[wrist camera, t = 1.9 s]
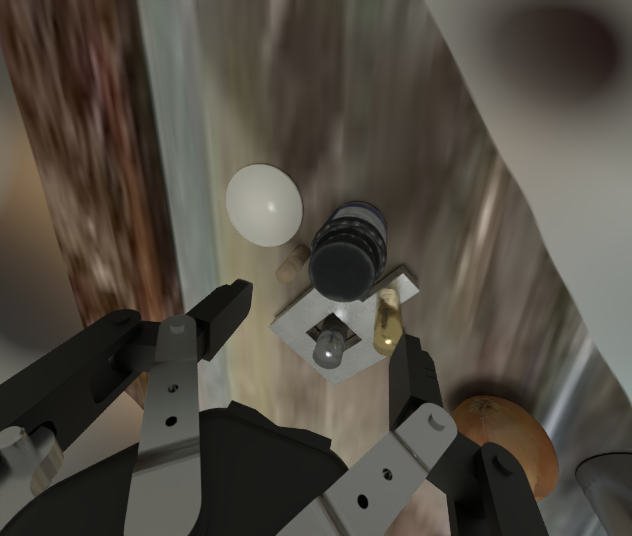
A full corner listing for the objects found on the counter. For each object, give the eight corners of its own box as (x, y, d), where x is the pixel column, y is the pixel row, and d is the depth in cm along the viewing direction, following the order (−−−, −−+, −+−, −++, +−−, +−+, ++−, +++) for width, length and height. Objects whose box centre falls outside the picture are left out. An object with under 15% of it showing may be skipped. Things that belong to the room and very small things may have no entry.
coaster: (300, 162, 26) (298, 163, 25) (305, 246, 30) (304, 248, 29) (221, 165, 28) (218, 165, 27) (236, 243, 32) (233, 245, 31)
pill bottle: (353, 265, 29) (336, 325, 20) (317, 225, 28) (280, 267, 19) (399, 232, 26) (406, 282, 17) (361, 186, 25) (344, 211, 16)
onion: (463, 437, 36) (487, 531, 27) (427, 389, 34) (441, 473, 25) (543, 423, 32) (602, 529, 23) (507, 367, 30) (557, 459, 21)
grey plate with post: (336, 374, 36) (321, 440, 28) (274, 318, 35) (240, 370, 27) (446, 311, 28) (469, 377, 20) (371, 234, 27) (364, 272, 19)
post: (348, 315, 32) (341, 348, 27) (348, 335, 33) (341, 371, 28) (324, 312, 33) (311, 344, 28) (324, 332, 34) (313, 366, 29)
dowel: (309, 246, 29) (292, 267, 24) (310, 260, 30) (293, 284, 25) (294, 245, 30) (274, 266, 25) (295, 259, 31) (276, 283, 25)
